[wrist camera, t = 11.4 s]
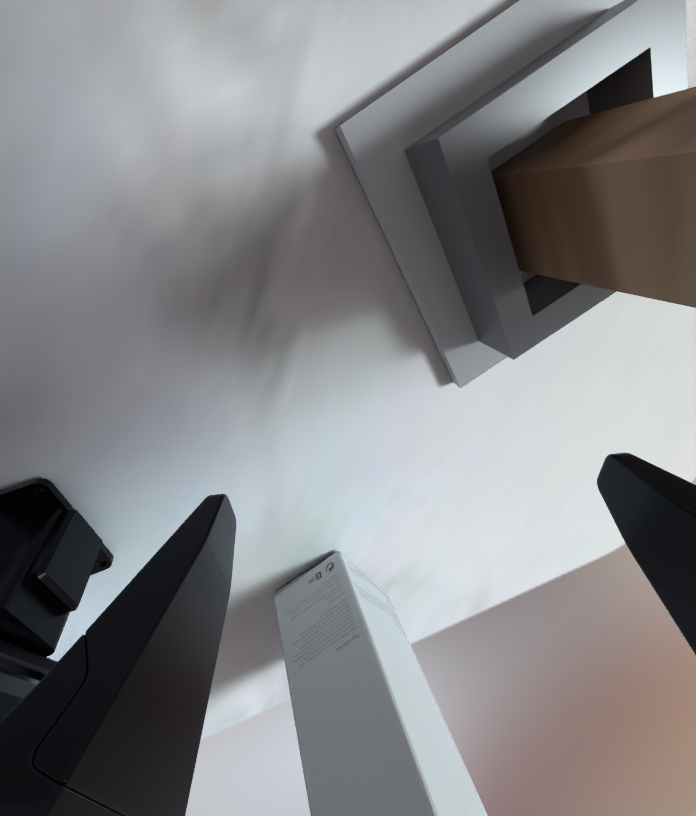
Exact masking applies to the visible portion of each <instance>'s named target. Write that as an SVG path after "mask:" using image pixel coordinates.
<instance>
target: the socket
mask: <svg viewBox="0 0 696 816" xmlns="http://www.w3.org/2000/svg"><path fill="white" fill-rule="evenodd" d="M685 89H687V45H686V2H685V0H519V1H518V2H516V3H515V4H514V5H512V6H511V7H509V8H508V9H506V10H505V11H503V12H502V13H501V14H499V15H498V16H496V17H495V18H493V19H492V20H491V21H489V22H488V23H486V24H485V25H483V26H482V27H481V28H479V29H478V30H476V31H475V32H473V33H472V34H470V35H469V36H468V37H466V38H465V39H463V40H462V41H460V42H459V43H458V44H456V45H455V46H453V47H452V48H450V49H449V50H448V51H446V52H445V53H443V54H442V55H440V56H439V57H437V58H436V59H435V60H433V61H432V62H430V63H429V64H427V65H426V66H425V67H423V68H422V69H420V70H419V71H417V72H416V73H414V74H413V75H412V76H410V77H409V78H407V79H406V80H404V81H403V82H402V83H400V84H399V85H397V86H396V87H394V88H393V89H392V90H390V91H389V92H387V93H386V94H384V95H383V96H381V97H380V98H379V99H377V100H376V101H374V102H373V103H371V104H370V105H369V106H367V107H366V108H364V109H363V110H361V111H360V112H359V113H357V114H356V115H354V116H353V117H351V118H350V119H348V120H347V121H346V122H344V123H343V124H341V125H340V126H339V127H337V128H336V129H335V130H336V132H337V135H338V137H339V139H340V141H341V143H342V145H343V147H344V150H345V152H346V154H347V156H348V158H349V160H350V162H351V165H352V167H353V169H354V171H355V173H356V175H357V177H358V179H359V182H360V184H361V186H362V188H363V190H364V192H365V194H366V197H367V199H368V201H369V203H370V205H371V207H372V209H373V212H374V214H375V216H376V218H377V220H378V222H379V224H380V226H381V229H382V231H383V233H384V235H385V237H386V239H387V241H388V244H389V246H390V248H391V250H392V252H393V254H394V256H395V259H396V261H397V263H398V265H399V267H400V269H401V271H402V273H403V276H404V278H405V280H406V282H407V284H408V286H409V288H410V291H411V293H412V295H413V297H414V299H415V301H416V303H417V306H418V308H419V310H420V312H421V314H422V316H423V318H424V320H425V323H426V325H427V327H428V329H429V331H430V333H431V335H432V338H433V340H434V342H435V344H436V346H437V348H438V350H439V352H440V355H441V357H442V359H443V361H444V363H445V365H446V367H447V370H448V372H449V374H450V376H451V378H452V380H453V382H454V383H455V384H456V385H457V386H459V387H460V388H461V387H463V386H464V385H466V384H467V383H469V382H470V381H472V380H473V379H475V378H476V377H478V376H479V375H481V374H482V373H484V372H485V371H487V370H488V369H490V368H491V367H493V366H494V365H496V364H497V363H499V362H500V361H502V360H504V359H505V358H507V357H510V358H512V359H515V358H517V357H518V356H520V355H521V354H523V353H524V352H526V351H527V350H529V349H530V348H532V347H533V346H535V345H536V344H538V343H540V342H541V341H543V340H544V339H546V338H547V337H549V336H550V335H552V334H553V333H555V332H556V331H558V330H559V329H561V328H562V327H564V326H565V325H567V324H568V323H570V322H571V321H573V320H574V319H576V318H577V317H579V316H580V315H582V314H583V313H585V312H586V311H588V310H589V309H591V308H592V307H594V306H595V305H597V304H598V303H600V302H601V301H603V300H604V299H606V298H607V297H609V296H610V295H612V294H613V293H615V292H616V291H614V290H609V289H604V288H599V287H595V286H590V285H585V284H580V283H576V282H571V281H566V280H561V279H556V278H552V277H547V276H542V275H537V274H533V273H528V272H523V271H519V267H518V264H517V260H516V257H515V253H514V250H513V246H512V243H511V239H510V236H509V232H508V229H507V225H506V222H505V218H504V215H503V211H502V208H501V204H500V201H499V197H498V194H497V190H496V187H495V184H494V180H493V177H492V173H491V171H492V170H494V169H495V168H497V167H498V166H500V165H501V164H503V163H504V162H506V161H507V160H509V159H510V158H511V157H513V156H514V155H516V154H517V153H519V152H520V151H522V150H523V149H525V148H526V147H528V146H529V145H531V144H532V143H534V142H535V141H537V140H538V139H539V138H541V137H542V136H544V135H545V134H547V133H548V132H550V131H551V130H553V129H554V128H556V127H557V126H559V125H560V124H562V123H563V122H565V121H568V120H571V119H575V118H579V117H583V116H586V115H590V114H594V113H598V112H602V111H605V110H609V109H613V108H617V107H621V106H624V105H628V104H632V103H636V102H640V101H643V100H647V99H651V98H655V97H659V96H662V95H666V94H670V93H674V92H677V91H681V90H685Z"/></svg>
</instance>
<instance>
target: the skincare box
mask: <svg viewBox="0 0 696 816" xmlns="http://www.w3.org/2000/svg"><path fill="white" fill-rule="evenodd" d="M274 601H275V607H276V612H277V619H278V624H279V630H280V636H281V642H282V648H283V654H284V660H285V666H286V672H287V678H288V684H289V690H290V696H291V701H292V708H293V714H294V720H295V725H296V731H297V737H298V743H299V749H300V755H301V760H302V767H303V772H304V778H305V784H306V790H307V795H308V802H309V807H310V813H311V816H487V813H486V811H485V809H484V807H483V804H482V802H481V800H480V798H479V795H478V793H477V791H476V789H475V787H474V785H473V782H472V780H471V778H470V776H469V773H468V771H467V769H466V767H465V765H464V763H463V761H462V758H461V756H460V754H459V752H458V750H457V747H456V745H455V743H454V741H453V738H452V736H451V734H450V732H449V730H448V727H447V725H446V723H445V721H444V719H443V716H442V714H441V712H440V709H439V707H438V705H437V703H436V701H435V698H434V696H433V694H432V692H431V689H430V687H429V685H428V683H427V681H426V678H425V676H424V674H423V672H422V670H421V667H420V665H419V663H418V661H417V658H416V656H415V654H414V652H413V650H412V647H411V645H410V643H409V641H408V639H407V636H406V634H405V632H404V630H403V627H402V625H401V623H400V621H399V619H398V616H397V614H396V612H395V610H394V607H393V605H392V603H391V601H390V598H389V596H388V595H387V594H386V593H385V592H384V591H383V590H381V589H380V588H379V587H378V586H377V585H376V584H375V583H374V582H373V581H372V580H371V579H370V578H369V577H367V576H366V575H365V574H364V573H363V572H362V571H361V570H360V569H359V568H358V567H356V566H355V565H354V564H353V563H351V562H350V561H349V560H348V559H347V558H346V557H345V556H344V555H343V554H342V553H341V552H339V551H338V552H336V553H334V554H332V555H331V556H329V557H328V558H327V559H325V560H324V561H323V562H322V563H320V564H319V565H317V566H316V567H314V568H313V569H311V570H309V571H308V572H306V573H305V574H303V575H301V576H300V577H298V578H296V579H295V580H293V581H292V582H290V583H289V584H287V585H286V586H284V587H283V588H281V589H280V590H278V591H277V592H276V594H275V598H274Z"/></svg>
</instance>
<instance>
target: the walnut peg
mask: <svg viewBox="0 0 696 816" xmlns="http://www.w3.org/2000/svg"><path fill="white" fill-rule="evenodd" d="M491 173H492V177H493V180H494V184H495V187H496V190H497V194H498V197H499V201H500V204H501V208H502V211H503V215H504V218H505V222H506V225H507V229H508V232H509V236H510V239H511V243H512V246H513V250H514V253H515V257H516V260H517V264H518V267H519V271H523V272H528V273H533V274H537V275H542V276H547V277H552V278H556V279H561V280H566V281H571V282H576V283H580V284H585V285H590V286H595V287H599V288H604V289H609V290H614V291H619V292H623V293H628V294H633V295H638V296H642V297H647V298H652V299H657V300H662V301H666V302H671V303H676V304H681V305H685V306H690V307H695V308H696V87H693V88H689V89H685V90H681V91H677V92H674V93H670V94H666V95H662V96H659V97H655V98H651V99H647V100H643V101H640V102H636V103H632V104H628V105H624V106H621V107H617V108H613V109H609V110H605V111H602V112H598V113H594V114H590V115H586V116H583V117H579V118H575V119H571V120H568V121H565V122H563V123H562V124H560V125H559V126H557V127H556V128H554V129H553V130H551V131H550V132H548V133H547V134H545V135H544V136H542V137H541V138H539V139H538V140H537V141H535V142H534V143H532V144H531V145H529V146H528V147H526V148H525V149H523V150H522V151H520V152H519V153H517V154H516V155H514V156H513V157H511V158H510V159H509V160H507V161H506V162H504V163H503V164H501V165H500V166H498V167H497V168H495V169H494V170H492V171H491Z"/></svg>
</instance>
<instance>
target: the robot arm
mask: <svg viewBox="0 0 696 816" xmlns="http://www.w3.org/2000/svg"><path fill="white" fill-rule="evenodd" d="M597 485H598V489H599V491H600V493H601V495H602V497H603V499H604V501H605V503H606V505H607V507H608V509H609V511H610V513H611V515H612V517H613V519H614V521H615V523H616V525H617V527H618V529H619V531H620V533H621V535H622V537H623V539H624V541H625V543H626V545H627V546H628V548H629V549H630V551H631V553H632V555H633V556H634V558H635V560H636V561H637V563H638V564H639V566H640V568H641V569H642V571H643V572H644V574H645V576H646V577H647V579H648V580H649V582H650V583H651V585H652V587H653V588H654V590H655V591H656V593H657V594H658V596H659V597H660V599H661V601H662V602H663V604H664V606H665V607H666V609H667V610H668V612H669V613H670V615H671V617H672V618H673V620H674V621H675V623H676V624H677V626H678V628H679V629H680V631H681V632H682V634H683V636H684V637H685V639H686V640H687V642H688V643H689V645H690V647H691V648H692V650H693V651H694V653H695V655H696V485H694V484H692V483H690V482H688V481H686V480H684V479H682V478H680V477H678V476H676V475H673V474H671V473H669V472H667V471H665V470H663V469H661V468H659V467H657V466H655V465H653V464H651V463H649V462H646V461H644V460H642V459H640V458H638V457H636V456H634V455H632V454H629V453H617V454H610V455H608V456H607V457H606V459H605V461H604V463H603V466H602V468H601V471H600V473H599V476H598V478H597ZM37 487H39V488H42V489H43V490H44V491H40V490H38V489H36V488H37ZM235 533H236V518H235V515H234V512H233V509H232V507H231V504H230V501H229V499H228V497H227V496H226V495H225V494H218V495H210V496H208V497H206V498H205V499H204V500H203V502H202V503H201V504H200V505H199V506H198V507H197V508H196V509H195V510H194V512H193V513H192V514H191V515H190V516H189V517H188V518H187V519H186V520H185V522H184V523H183V524H182V525H181V526H180V527H179V528H178V529H177V530H176V532H175V533H174V534H173V535H172V536H171V537H170V538H169V539H168V540H167V542H166V543H165V544H164V545H163V546H162V547H161V548H160V549H159V551H158V552H157V553H156V554H155V555H154V556H153V557H152V558H151V559H150V561H149V562H148V563H147V564H146V565H145V566H144V567H143V568H142V569H141V571H140V572H139V573H138V574H137V575H136V576H135V577H134V578H133V579H132V581H131V582H130V583H129V584H128V585H127V586H126V587H125V588H124V589H123V591H122V592H121V593H120V594H119V595H118V596H117V597H116V598H115V600H114V601H113V602H112V603H111V604H110V605H109V606H108V607H107V608H106V610H105V611H104V612H103V613H102V614H101V615H100V616H99V617H98V618H97V620H96V621H95V622H94V623H93V624H92V625H91V626H90V627H89V628H88V630H87V631H86V635H82V636H81V637H80V638H79V639H78V640H77V642H76V643H75V644H74V645H73V646H72V647H71V648H70V649H69V651H68V652H67V653H66V654H65V655H64V656H63V657H62V658H61V659H60V660H59V661H58V662H57V661H54V660H52V659H49V658H47V656H50V655H51V654H53V653H54V651H55V648H56V646H57V643H58V641H59V638H60V636H61V633H62V631H63V628H64V626H65V623H66V621H67V618H68V615H69V613H70V612H72V611H74V610H76V609H77V607H78V605H79V603H80V600H81V598H82V595H83V593H84V590H85V587H86V585H87V582H88V579H89V577H90V575H92V574H95V573H98V572H100V571H103V570H106V569H108V568H109V567H110V566H111V565H112V562H113V558H114V557H113V555H112V554H111V552H110V551H109V550H108V549H107V548H106V546H105V545H104V544H103V543H102V540H101V539H100V537H99V536H98V535H97V534H96V533H95V531H94V530H93V529H92V528H91V527H90V525H89V524H88V523H87V522H86V521H85V519H84V518H83V517H82V516H81V515H80V513H79V512H78V511H77V510H75V509H74V508H73V507H72V506H71V505H70V503H69V502H68V501H67V500H66V499H65V497H64V496H63V495H62V494H61V493H60V492H59V490H58V489H57V488H56V487H55V486H54V484H53V483H52V482H51V481H49V480H47V479H43V478H38V479H34V480H31V481H28V482H25V483H22V484H19V485H16V486H13V487H10V488H7V489H4V490H1V491H0V816H185V813H186V808H187V803H188V798H189V793H190V788H191V783H192V778H193V773H194V768H195V763H196V758H197V753H198V749H199V744H200V739H201V734H202V729H203V724H204V719H205V714H206V709H207V704H208V699H209V694H210V689H211V684H212V679H213V674H214V669H215V664H216V659H217V654H218V649H219V644H220V639H221V634H222V630H223V625H224V620H225V615H226V610H227V605H228V600H229V594H230V588H231V579H232V568H233V556H234V545H235ZM100 560H103V561H100Z"/></svg>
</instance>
